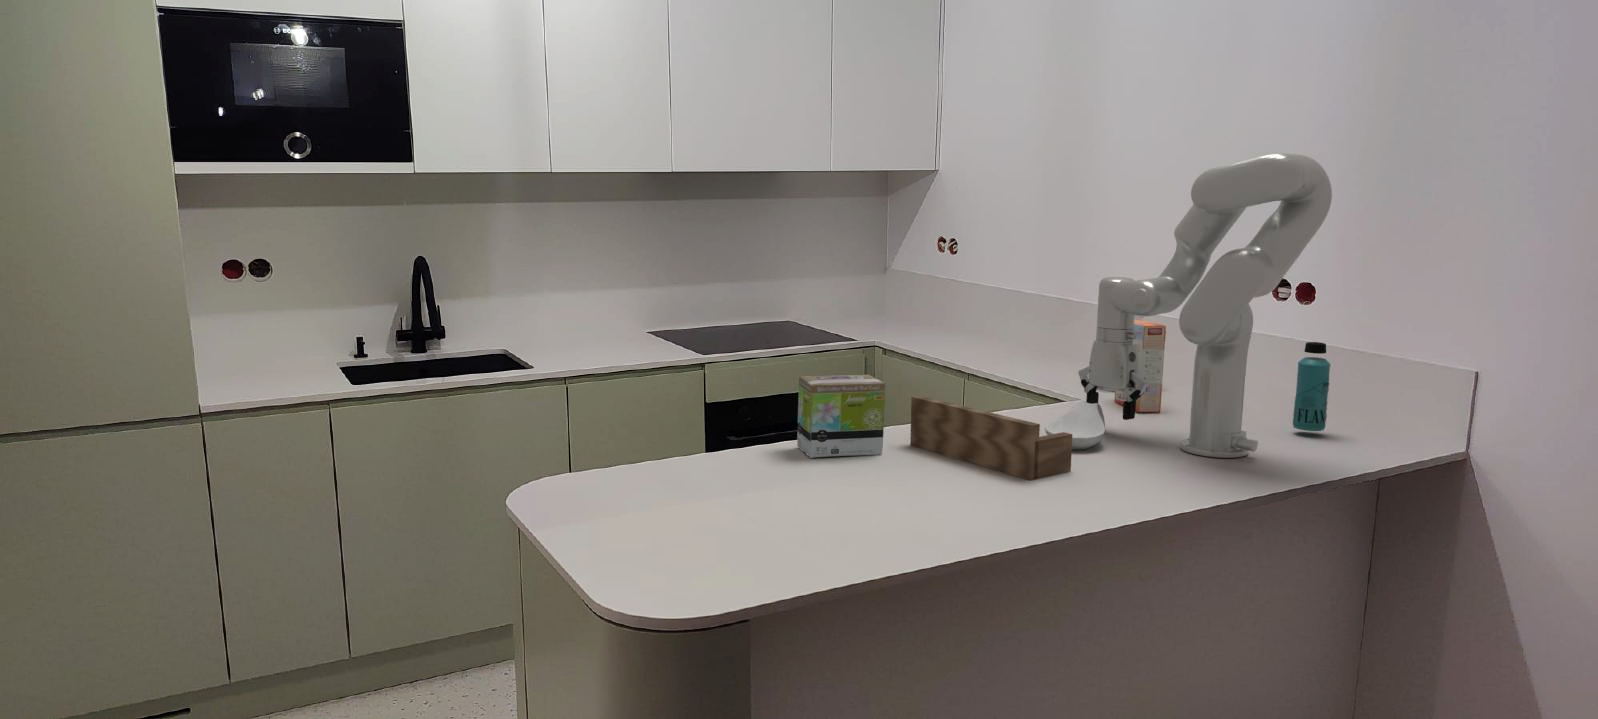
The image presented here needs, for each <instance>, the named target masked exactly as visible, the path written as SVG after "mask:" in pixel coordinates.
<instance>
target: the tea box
mask: <svg viewBox="0 0 1598 719" xmlns="http://www.w3.org/2000/svg"><path fill="white" fill-rule="evenodd" d="M885 394H886V383H885V382H883V381H881V380H880V379H878V378H876V377H874V376H872V375H870V374H846V375H844V374H843V375H840V374H839V375H838V374H837V375H817V376H816V375H814V376H813V375H812V376H811V375H806V376H805V375H804V376H803V375H802V376H799V377H798V401H797V403H798V404H797V408H798V409H797V435H796V436H797V437H796V438H797V440H796V441H797V443H796V444H797V448H799V449H800V451H802V450H803V451H804V452H805V453H806V454H808V456H809V457H808V456H807V457H808V458H810V459H814V458H826V457H848V456H850V457H851V456H855V457H856V456H878V455H877V454H881V455H883V446H884V433H885V432H884V427H885V424H884V423H885V400H886V399H885V396H886V395H885ZM803 451H802V452H803ZM804 452H803V453H804ZM805 453H804V454H805ZM806 454H805V455H806Z"/></svg>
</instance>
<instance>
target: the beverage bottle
mask: <svg viewBox="0 0 1598 719" xmlns="http://www.w3.org/2000/svg"><path fill="white" fill-rule="evenodd" d="M1304 347H1305V348H1304V353H1308V354H1318V355H1319V354H1323V355H1324V354H1327V344H1326V343H1324V342H1319V341H1308V342H1305V346H1304ZM1297 365H1298V366H1297V375H1296V376H1297V377H1296V389H1295V397H1294V398H1295V399H1294V405H1293V406H1294V407H1293V412H1292V413H1293V414H1292V422H1291V423H1292V426H1293V428H1294V429H1296V430H1301V431H1307V432H1309V431H1310V432H1322V431H1324V430H1325V428H1326V426H1327V423H1326V422H1327V417H1328V413H1327V409H1328V398H1329V391H1330V390H1329V387H1330V379H1331V378H1330V370H1331V363H1330V362H1329V361H1328V360H1327V359H1326V358H1324V357H1323V358H1322V357H1317V356H1316V357H1314V356H1307V357H1303V358H1302V359H1300V360H1299V361H1298V362H1297Z"/></svg>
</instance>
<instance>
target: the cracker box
mask: <svg viewBox="0 0 1598 719" xmlns="http://www.w3.org/2000/svg"><path fill="white" fill-rule="evenodd" d="M1133 333H1136V334H1137V338H1136V339H1135V340H1134V339H1133V343H1134V344H1136V346H1137V352H1138V363H1139V376H1140V377H1142V378H1143V379H1144V380H1145V381H1146V382H1147V383H1148V386H1147V387H1146V389H1145V391H1144V394H1143V395H1142V396H1141V397H1140V398H1139V400H1137V401H1136V411H1135V413H1138V414H1139V413H1142V414H1144V413H1145V414H1146V413H1147V414H1148V413H1150V414H1151V413H1153V414H1154V413H1157V414H1158V413H1161V408H1162V407H1161V405H1162V391H1163V376H1164V361H1165V348H1166V346H1165V345H1166V335H1167V334H1166V333H1167V325H1164V324H1162V323H1161V324H1160V323H1156V322H1153V321H1149V320H1144V319H1134V332H1133ZM1136 389H1137V388H1136ZM1136 389H1135V390H1136ZM1130 395H1131V394H1130ZM1124 401H1126V398H1125V397H1124V395H1123V393H1122V391H1117V390H1115V391H1114V403H1116V404H1119V405H1121V406H1123V403H1124Z"/></svg>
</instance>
